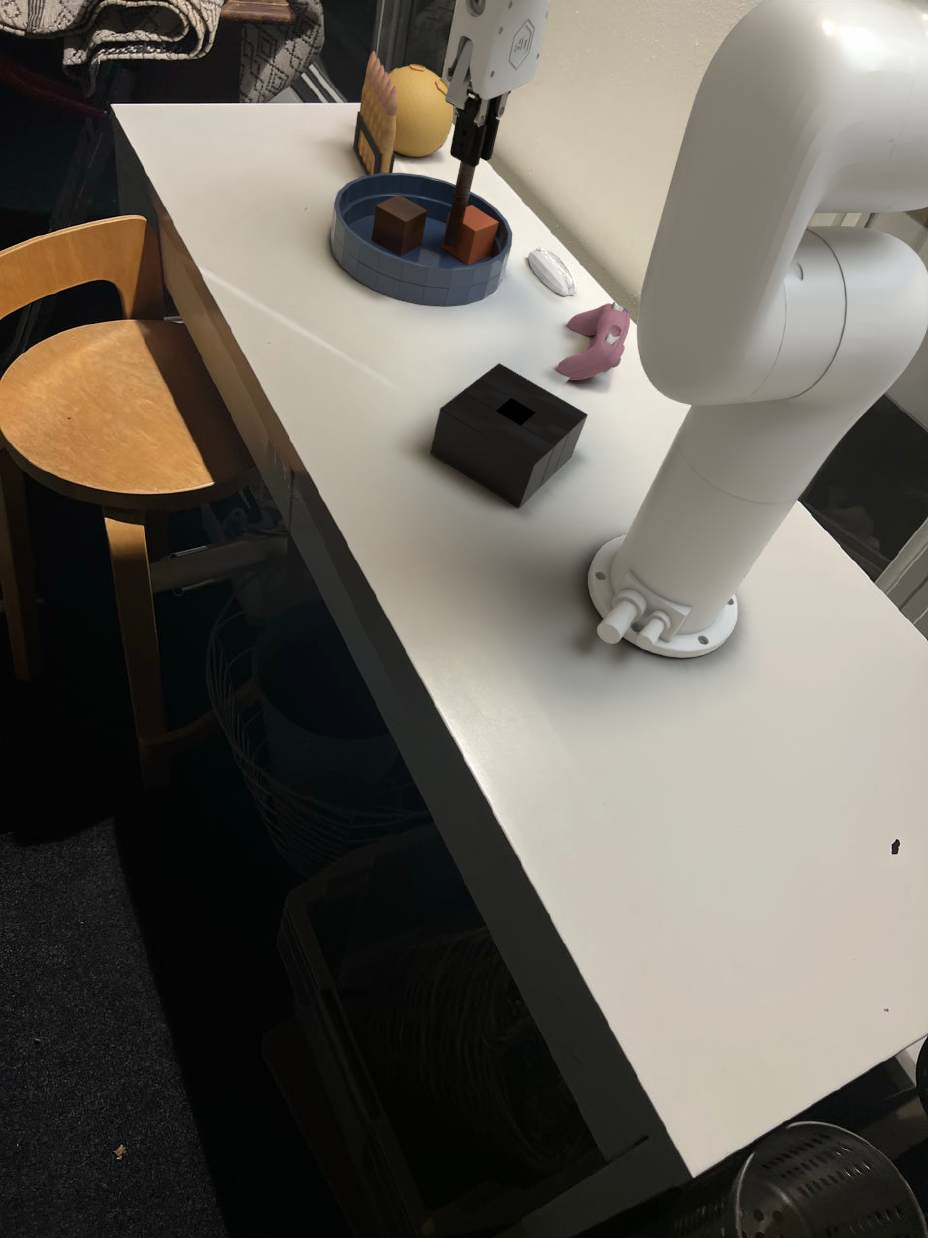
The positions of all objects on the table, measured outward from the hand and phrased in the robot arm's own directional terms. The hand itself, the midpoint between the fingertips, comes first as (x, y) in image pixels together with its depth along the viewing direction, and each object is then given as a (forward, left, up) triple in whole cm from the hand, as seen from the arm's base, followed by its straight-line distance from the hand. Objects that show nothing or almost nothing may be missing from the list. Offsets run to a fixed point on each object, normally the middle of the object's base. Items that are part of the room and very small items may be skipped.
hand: (470, 156), depth 91 cm
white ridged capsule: (+7, -9, -12) cm, 17 cm away
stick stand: (-22, -21, -12) cm, 33 cm away
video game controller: (-3, -20, -12) cm, 24 cm away
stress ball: (+18, +19, -12) cm, 28 cm away
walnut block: (-2, +6, -11) cm, 13 cm away
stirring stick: (0, 0, -10) cm, 10 cm away
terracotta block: (+3, 0, -11) cm, 11 cm away
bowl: (-2, +3, -12) cm, 12 cm away
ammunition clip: (+9, +18, -12) cm, 23 cm away
